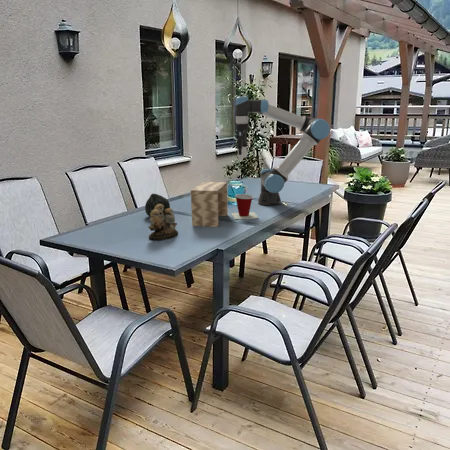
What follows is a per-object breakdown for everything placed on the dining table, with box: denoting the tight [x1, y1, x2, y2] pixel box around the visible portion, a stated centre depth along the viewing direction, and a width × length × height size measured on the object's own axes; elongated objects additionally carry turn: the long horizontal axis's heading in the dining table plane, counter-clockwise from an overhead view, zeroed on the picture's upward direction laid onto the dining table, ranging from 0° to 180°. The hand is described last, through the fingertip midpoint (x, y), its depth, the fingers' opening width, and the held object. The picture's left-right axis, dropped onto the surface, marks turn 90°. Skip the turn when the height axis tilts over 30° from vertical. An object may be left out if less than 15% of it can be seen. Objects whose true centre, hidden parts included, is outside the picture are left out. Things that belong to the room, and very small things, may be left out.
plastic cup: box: [234, 193, 254, 216], centre depth 263 cm, size 11×11×12 cm
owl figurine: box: [147, 204, 179, 241], centre depth 226 cm, size 18×12×17 cm, turn 144°
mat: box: [231, 211, 259, 221], centre depth 264 cm, size 14×14×1 cm
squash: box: [144, 193, 171, 218], centre depth 266 cm, size 14×15×15 cm
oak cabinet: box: [190, 181, 229, 228], centre depth 254 cm, size 14×26×20 cm, turn 167°
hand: (242, 158), depth 273 cm, fingers open, 13 cm apart
